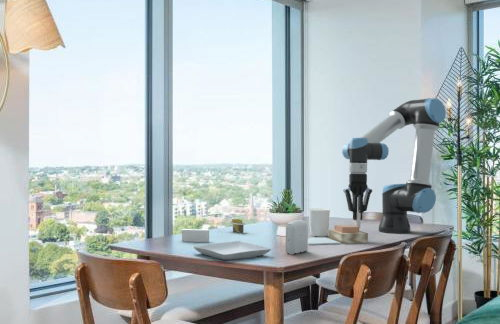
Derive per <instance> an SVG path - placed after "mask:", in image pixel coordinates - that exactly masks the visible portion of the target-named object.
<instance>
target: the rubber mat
mask: <svg viewBox="0 0 500 324" xmlns="http://www.w3.org/2000/svg"><path fill="white" fill-rule="evenodd" d="M308 244H309V245H308V246H319V245H320V246H323V245H324V244H325V245H326V244H327V245H341V243H340V242H337V241H334V240H332V239H329V238H328V237H327V236H326V237H308ZM325 245H324V246H325Z"/></svg>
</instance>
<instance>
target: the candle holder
mask: <svg viewBox="0 0 500 324" xmlns="http://www.w3.org/2000/svg"><path fill="white" fill-rule="evenodd" d="M330 211H331V210H330V209H329V208H309V209H308V223H309V225H308V228H309V236H310V235H311V236H310V237H315V236H317V237H316V238H319V237H324V236H326V237H328V231H329V230H330V214H331V212H330Z"/></svg>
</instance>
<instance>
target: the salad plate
mask: <svg viewBox="0 0 500 324" xmlns="http://www.w3.org/2000/svg"><path fill="white" fill-rule="evenodd" d="M193 249H194V250H195V251H197V252H198V253H200V254H202V255H205V256H207V257H208V256H209V257H211V258H216V259H219V260H224V261H230V260H231V261H234V260H241V259H248V258H257V256H258V257H260V256H264V255H266V254H268V253H270V252H271V250H272V248H270V247H266V246H263V245H259V244H255V243H250V242H246V241H245V242H244V241H241V240H235V241H227V242H226V241H225V242H218V243H216V242H215V243H209V244H204V245H203V244H202V245H194V246H193Z"/></svg>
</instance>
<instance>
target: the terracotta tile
mask: <svg viewBox="0 0 500 324" xmlns="http://www.w3.org/2000/svg"><path fill="white" fill-rule="evenodd" d="M354 225H355V224H334V227H333V230H334V231H337V232H340V233H359V231H360V228H359V227H358V226H354Z"/></svg>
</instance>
